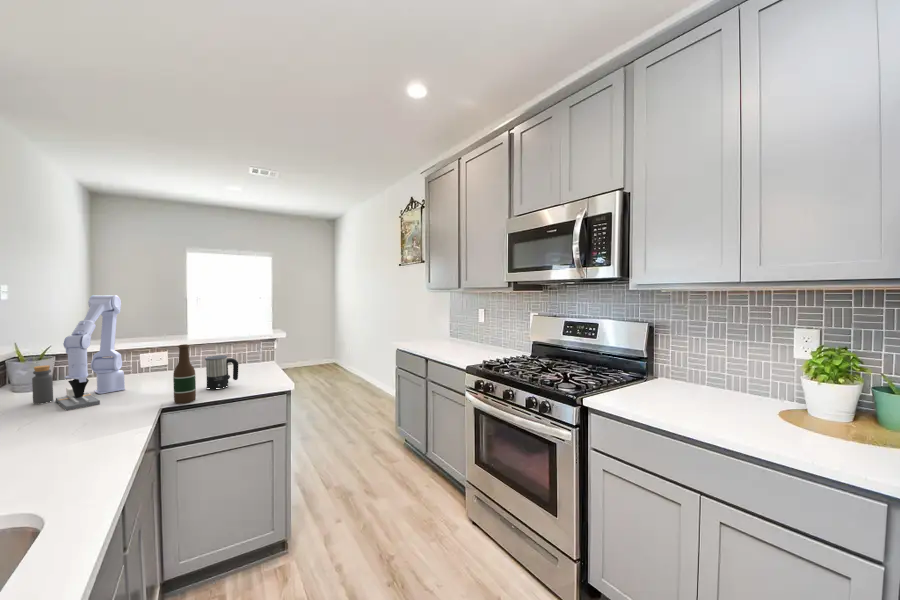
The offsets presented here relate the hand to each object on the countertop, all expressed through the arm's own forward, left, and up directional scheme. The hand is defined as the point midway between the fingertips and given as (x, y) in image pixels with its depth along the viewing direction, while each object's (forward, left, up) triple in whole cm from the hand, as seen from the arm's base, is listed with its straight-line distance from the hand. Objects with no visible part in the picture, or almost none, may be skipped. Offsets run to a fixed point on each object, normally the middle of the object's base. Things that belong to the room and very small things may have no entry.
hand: (79, 397), depth 161 cm
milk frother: (-48, +14, -3) cm, 50 cm away
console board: (0, -3, -3) cm, 4 cm away
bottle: (+8, -15, -3) cm, 18 cm away
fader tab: (0, -7, -1) cm, 7 cm away
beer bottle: (-28, +29, -3) cm, 41 cm away
